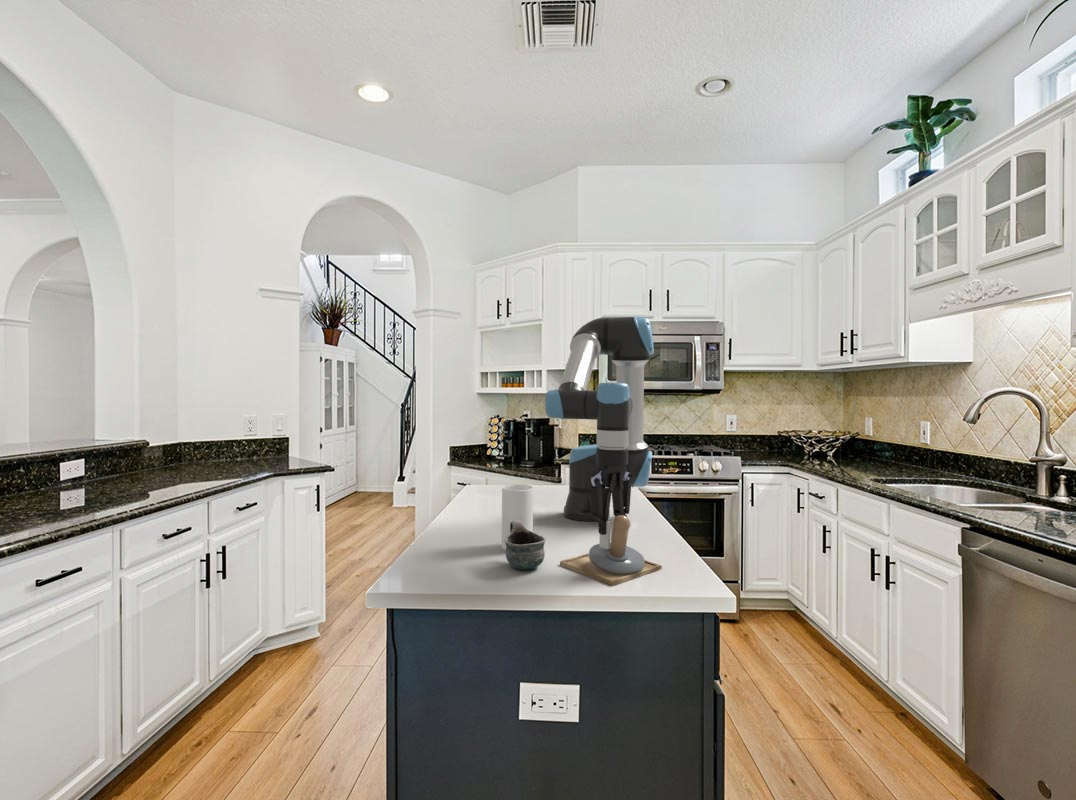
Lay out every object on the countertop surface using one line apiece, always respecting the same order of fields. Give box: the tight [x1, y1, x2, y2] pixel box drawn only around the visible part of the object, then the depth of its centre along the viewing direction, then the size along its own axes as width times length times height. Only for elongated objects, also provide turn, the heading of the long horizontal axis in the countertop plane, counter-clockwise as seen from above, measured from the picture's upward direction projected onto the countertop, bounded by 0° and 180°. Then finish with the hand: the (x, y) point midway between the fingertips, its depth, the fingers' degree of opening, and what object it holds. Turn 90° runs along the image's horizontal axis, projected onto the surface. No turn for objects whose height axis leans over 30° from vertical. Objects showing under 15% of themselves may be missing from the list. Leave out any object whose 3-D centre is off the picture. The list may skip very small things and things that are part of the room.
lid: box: [588, 515, 646, 575], centre depth 126 cm, size 13×13×11 cm
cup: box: [501, 484, 534, 551], centre depth 143 cm, size 8×8×16 cm
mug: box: [504, 520, 547, 570], centre depth 129 cm, size 10×12×10 cm
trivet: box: [559, 552, 663, 587], centre depth 129 cm, size 17×17×1 cm
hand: (610, 545), depth 128 cm, fingers closed on lid, 3 cm apart
